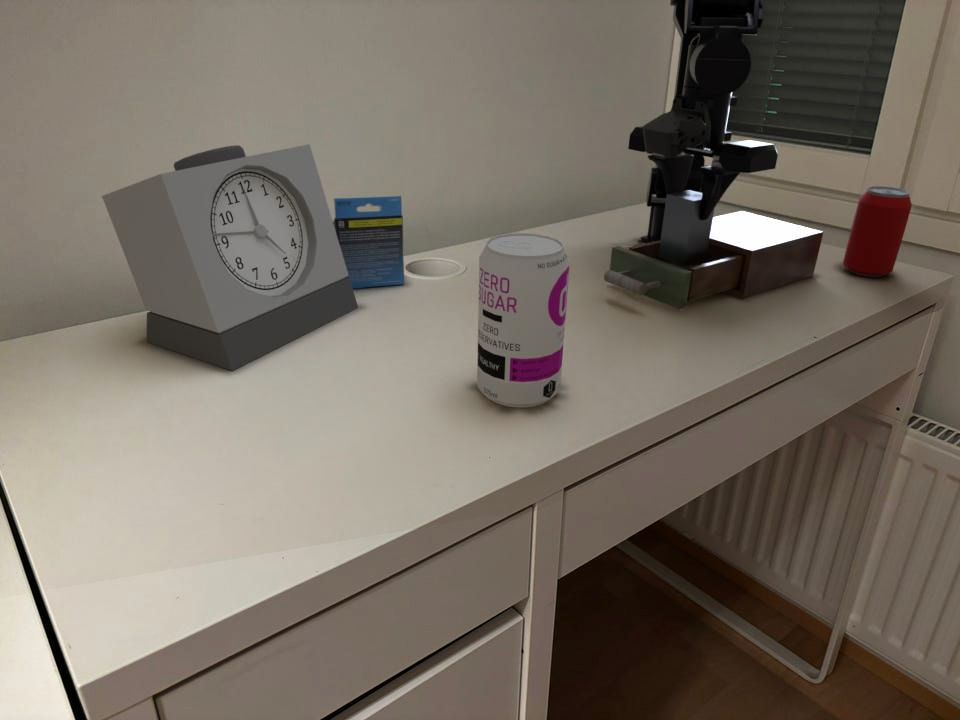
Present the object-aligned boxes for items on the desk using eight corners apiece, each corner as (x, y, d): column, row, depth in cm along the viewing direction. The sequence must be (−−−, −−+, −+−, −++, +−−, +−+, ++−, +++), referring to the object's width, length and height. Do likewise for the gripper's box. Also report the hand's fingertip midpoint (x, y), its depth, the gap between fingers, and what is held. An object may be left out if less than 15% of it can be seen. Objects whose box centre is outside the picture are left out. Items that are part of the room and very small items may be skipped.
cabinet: (742, 298, 94) (752, 250, 91) (664, 270, 104) (670, 226, 101) (813, 275, 103) (823, 231, 100) (734, 251, 112) (742, 210, 109)
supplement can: (567, 378, 72) (578, 236, 66) (547, 417, 65) (558, 263, 59) (492, 366, 75) (496, 227, 68) (465, 402, 68) (466, 251, 61)
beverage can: (880, 265, 108) (902, 186, 102) (899, 280, 102) (924, 197, 96) (834, 263, 108) (854, 184, 103) (850, 277, 102) (873, 194, 97)
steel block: (657, 257, 94) (666, 193, 91) (679, 252, 97) (689, 189, 93) (684, 266, 91) (694, 200, 87) (705, 260, 93) (716, 196, 90)
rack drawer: (655, 317, 85) (661, 279, 83) (585, 287, 94) (588, 252, 92) (755, 286, 96) (762, 252, 93) (683, 261, 105) (688, 229, 102)
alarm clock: (232, 370, 73) (201, 171, 64) (132, 337, 80) (92, 152, 70) (358, 307, 89) (347, 140, 80) (266, 284, 96) (247, 128, 86)
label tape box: (400, 276, 99) (397, 188, 94) (405, 286, 96) (402, 195, 90) (336, 280, 97) (329, 191, 92) (339, 291, 94) (332, 198, 88)
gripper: (604, 83, 87) (592, 208, 94) (731, 98, 73) (706, 243, 80) (665, 79, 93) (650, 198, 100) (793, 93, 79) (765, 229, 86)
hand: (688, 215), depth 91 cm, fingers closed on steel block, 4 cm apart
